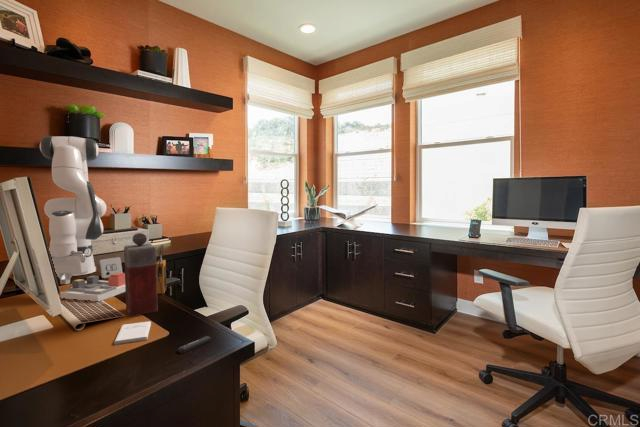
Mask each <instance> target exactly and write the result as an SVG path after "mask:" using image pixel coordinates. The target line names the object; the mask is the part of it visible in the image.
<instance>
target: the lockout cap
mask: <svg viewBox="0 0 640 427" xmlns="http://www.w3.org/2000/svg"><path fill="white" fill-rule="evenodd" d="M107 279H108V280H107V281H108V284H109V286H116V287H120V286H122V285H125V272H123V273H114V274H111V276H109V277H108V278H107Z"/></svg>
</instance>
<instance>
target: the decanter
mask: <svg viewBox="0 0 640 427" xmlns="http://www.w3.org/2000/svg"><path fill="white" fill-rule="evenodd" d="M147 238H148V237H147V236H146V235H145V234H144V233H143V232H136V233H135V234H133V236H132V242H133V243H134V244H130V245H129V244H126V245H125V246H124V247H123V252H124V254H123V255H124V256H123V257H124V273H125V290H126V292H125V309H126V312H127V315H128V317H134V316H140V315H145V314H149V313H155V312H158V311H159V310H158V309H159V307H158V297H157V296H158V294H157V267H156V263H157V247H155V246H154V245H153V244H151V243H146V242H147Z"/></svg>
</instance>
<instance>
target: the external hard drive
mask: <svg viewBox="0 0 640 427" xmlns="http://www.w3.org/2000/svg"><path fill="white" fill-rule="evenodd" d="M151 327H152V321H141V322H134V323H127V324H126V323H125V324H122V325H121V327H120V329H119V331H118V333H117V336H116V337H115V340H114V342H113V344H114V345H122V344H127V343H134V342H143V341H147V340H148V338H149V333H150V330H151Z"/></svg>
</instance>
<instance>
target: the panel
mask: <svg viewBox="0 0 640 427" xmlns="http://www.w3.org/2000/svg"><path fill="white" fill-rule="evenodd" d="M123 293H126V290H125V285H122V286H120V287H116V286H109V284H108V280H100V279H99V284H87V282H85V288H84V289H81V288H72V287H67V289H65V290H63V291H60V292H59V296H60V297H61V298H60V297H59V298H60V299H63V298H65V299H64V300H73V299H77V300H76V301H84V300H90V301H89V302H95V301H99V302H101V301H100V300H102V301H104V300H106V299H109V298H112V297H114V296H118V295H120V294H123Z"/></svg>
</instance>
